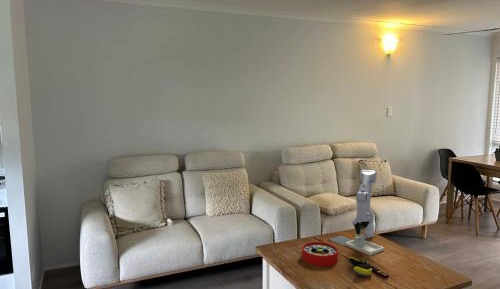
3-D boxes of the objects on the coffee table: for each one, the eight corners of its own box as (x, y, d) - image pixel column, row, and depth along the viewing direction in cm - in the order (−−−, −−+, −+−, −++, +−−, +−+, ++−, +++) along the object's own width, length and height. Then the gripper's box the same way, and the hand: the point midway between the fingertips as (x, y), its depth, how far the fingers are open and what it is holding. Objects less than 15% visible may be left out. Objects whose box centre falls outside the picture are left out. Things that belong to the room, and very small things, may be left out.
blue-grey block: (358, 243, 232) (358, 235, 232) (364, 246, 229) (364, 238, 228) (353, 245, 230) (354, 237, 229) (359, 247, 226) (360, 239, 225)
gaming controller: (353, 278, 189) (373, 279, 188) (354, 268, 188) (374, 268, 188) (347, 265, 204) (366, 265, 203) (347, 255, 203) (366, 256, 202)
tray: (345, 246, 229) (345, 242, 229) (359, 241, 237) (359, 237, 237) (370, 256, 215) (370, 252, 215) (383, 251, 222) (384, 247, 222)
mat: (341, 236, 246) (341, 235, 246) (355, 242, 236) (356, 241, 236) (328, 240, 239) (328, 239, 239) (343, 246, 229) (343, 245, 229)
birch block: (359, 233, 230) (360, 225, 229) (366, 236, 226) (366, 227, 226) (355, 235, 227) (355, 227, 227) (361, 237, 224) (361, 229, 223)
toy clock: (321, 259, 197) (294, 247, 213) (320, 269, 198) (294, 256, 214) (345, 250, 209) (318, 239, 225) (345, 260, 210) (318, 248, 226)
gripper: (359, 215, 218) (358, 237, 219) (374, 211, 226) (373, 232, 228) (349, 212, 223) (348, 234, 225) (364, 208, 232) (363, 229, 234)
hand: (360, 233), depth 227 cm, fingers closed on birch block, 4 cm apart
